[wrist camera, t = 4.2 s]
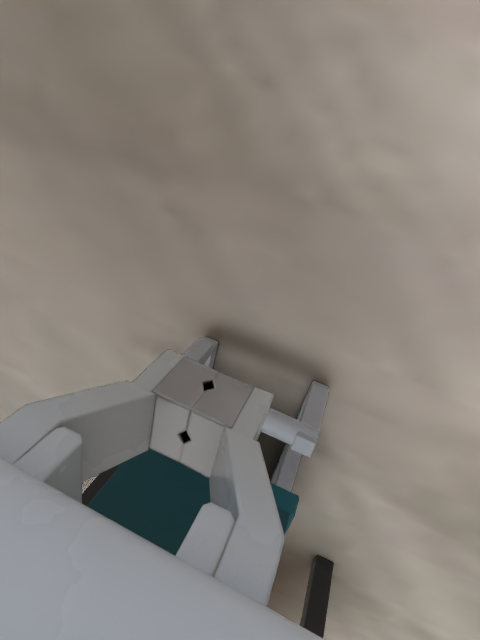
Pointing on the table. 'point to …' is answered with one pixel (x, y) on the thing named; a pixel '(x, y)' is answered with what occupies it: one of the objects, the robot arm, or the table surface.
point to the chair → (192, 487)
